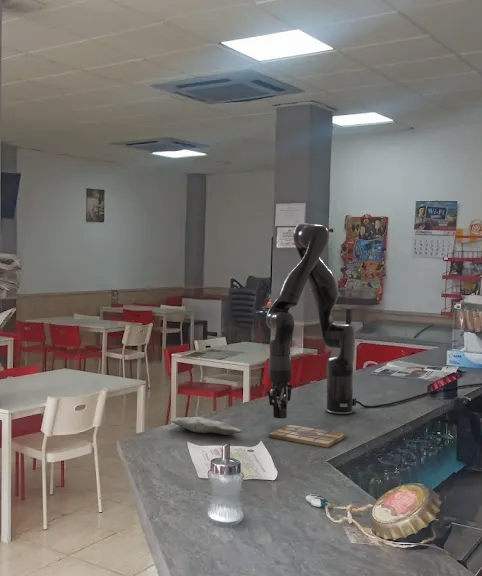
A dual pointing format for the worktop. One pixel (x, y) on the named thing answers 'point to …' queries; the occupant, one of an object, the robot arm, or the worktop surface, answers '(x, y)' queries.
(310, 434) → the grid board
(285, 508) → the worktop surface
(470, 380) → the worktop surface
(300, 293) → the robot arm
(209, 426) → the stone tool replica
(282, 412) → the dark grey short cylinder
